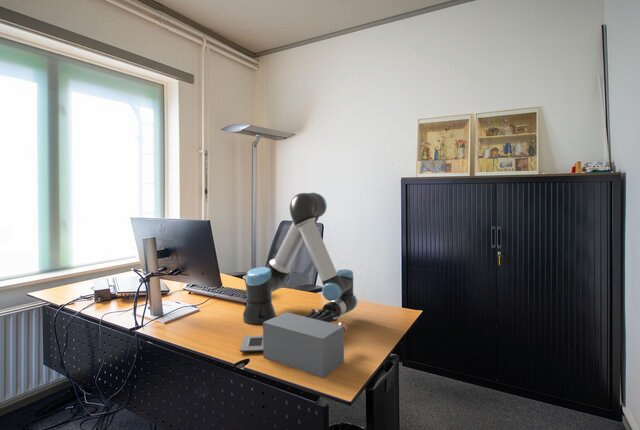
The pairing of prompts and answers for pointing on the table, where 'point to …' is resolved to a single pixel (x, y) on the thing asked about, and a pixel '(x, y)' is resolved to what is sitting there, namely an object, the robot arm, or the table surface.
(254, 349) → the electrical outlet
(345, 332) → the plug terracotta
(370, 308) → the table surface
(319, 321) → the housing
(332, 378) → the table surface
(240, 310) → the table surface
